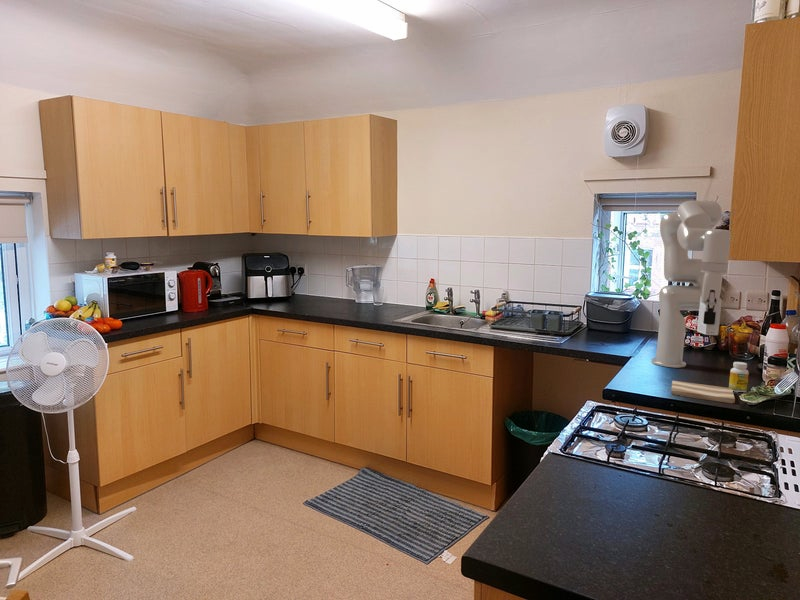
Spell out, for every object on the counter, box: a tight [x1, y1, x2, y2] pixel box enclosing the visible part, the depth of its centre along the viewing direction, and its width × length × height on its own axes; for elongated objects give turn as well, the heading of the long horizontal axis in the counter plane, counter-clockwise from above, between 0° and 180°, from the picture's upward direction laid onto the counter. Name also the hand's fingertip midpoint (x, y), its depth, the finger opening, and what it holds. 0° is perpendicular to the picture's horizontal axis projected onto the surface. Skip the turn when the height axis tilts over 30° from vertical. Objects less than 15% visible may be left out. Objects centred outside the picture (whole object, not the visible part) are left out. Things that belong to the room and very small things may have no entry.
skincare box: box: [696, 297, 723, 336], centre depth 191 cm, size 6×4×12 cm
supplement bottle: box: [728, 361, 750, 393], centre depth 197 cm, size 5×5×10 cm
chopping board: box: [670, 380, 736, 404], centre depth 193 cm, size 14×18×2 cm
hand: (708, 322), depth 192 cm, fingers closed on skincare box, 7 cm apart
